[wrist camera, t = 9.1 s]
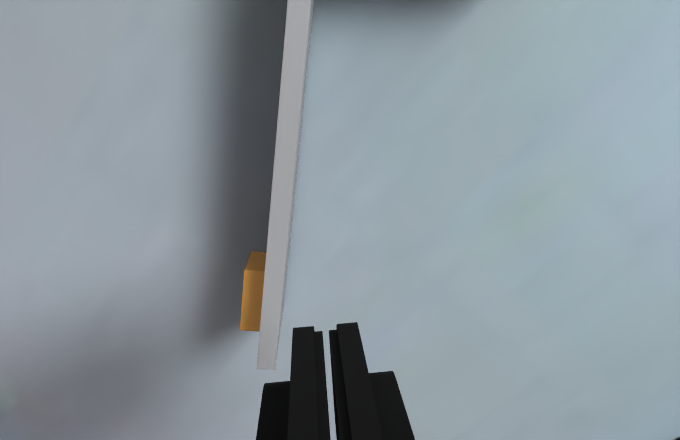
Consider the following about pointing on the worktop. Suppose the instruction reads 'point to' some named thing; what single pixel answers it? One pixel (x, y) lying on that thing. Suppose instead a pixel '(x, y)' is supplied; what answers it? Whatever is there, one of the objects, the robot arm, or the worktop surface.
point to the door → (279, 193)
